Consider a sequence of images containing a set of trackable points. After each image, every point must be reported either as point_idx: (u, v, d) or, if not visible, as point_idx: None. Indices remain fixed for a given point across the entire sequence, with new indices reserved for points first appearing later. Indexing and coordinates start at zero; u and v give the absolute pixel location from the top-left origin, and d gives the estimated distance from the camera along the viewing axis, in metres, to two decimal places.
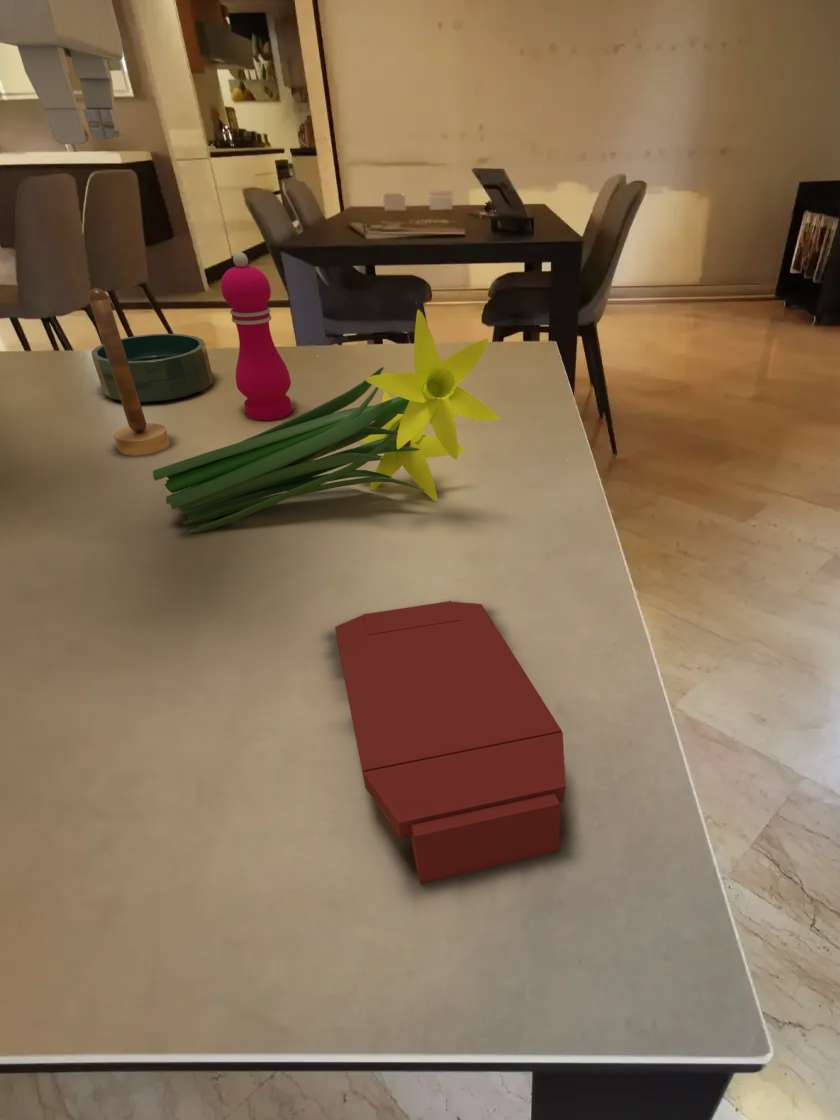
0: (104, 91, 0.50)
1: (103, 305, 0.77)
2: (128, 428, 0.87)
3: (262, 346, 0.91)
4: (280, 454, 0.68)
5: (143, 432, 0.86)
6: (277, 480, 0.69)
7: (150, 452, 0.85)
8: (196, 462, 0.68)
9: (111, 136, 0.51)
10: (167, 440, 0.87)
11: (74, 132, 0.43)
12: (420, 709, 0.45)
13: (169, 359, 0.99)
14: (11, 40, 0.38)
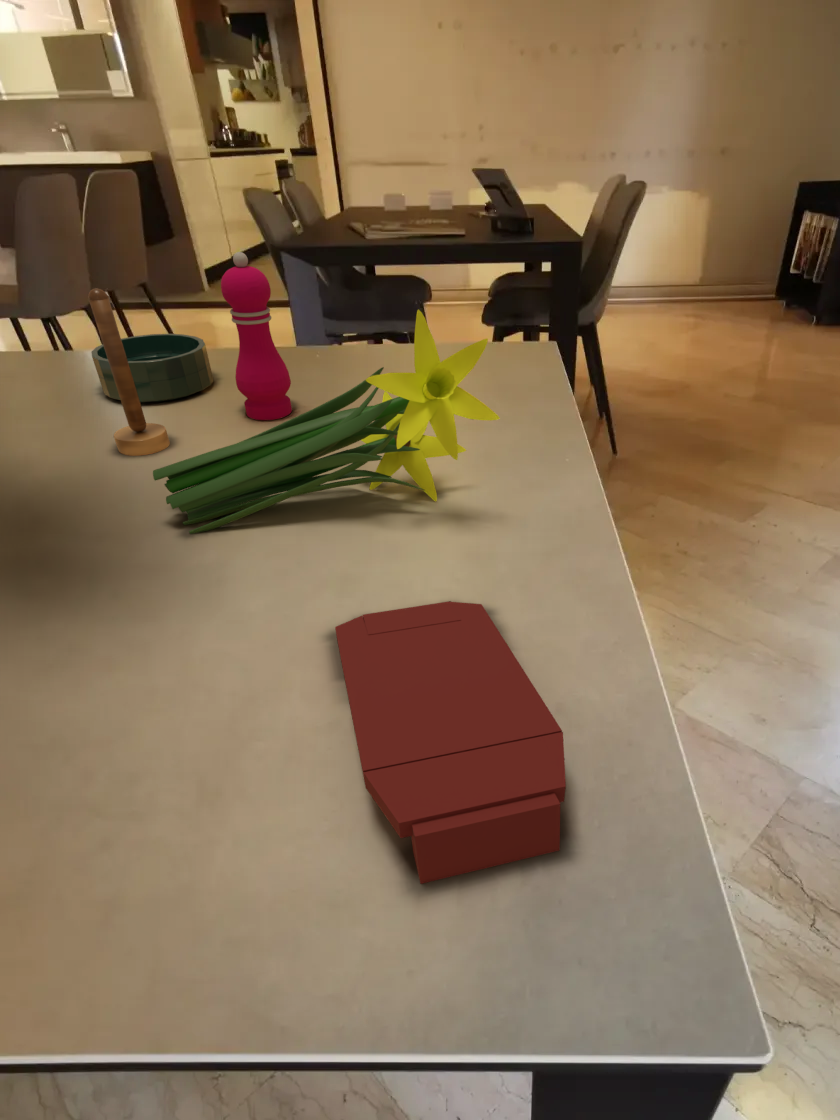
0: None
1: (103, 305, 0.77)
2: (128, 428, 0.87)
3: (261, 346, 0.91)
4: (280, 454, 0.68)
5: (143, 432, 0.86)
6: (277, 480, 0.69)
7: (150, 452, 0.85)
8: (196, 462, 0.68)
9: None
10: (167, 440, 0.87)
11: None
12: (420, 709, 0.45)
13: (169, 359, 0.99)
14: None
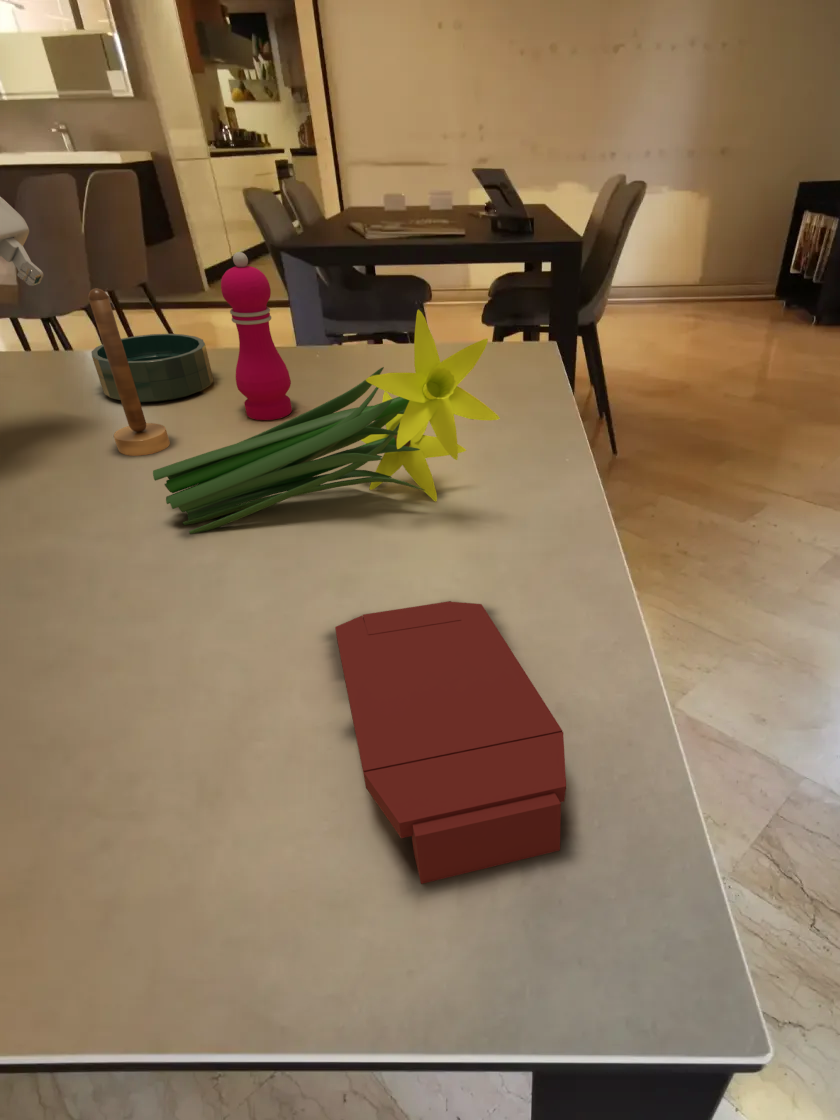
0: None
1: (103, 305, 0.77)
2: (128, 428, 0.87)
3: (261, 346, 0.91)
4: (280, 454, 0.68)
5: (143, 432, 0.86)
6: (277, 480, 0.69)
7: (150, 452, 0.85)
8: (196, 462, 0.68)
9: None
10: (167, 440, 0.87)
11: None
12: (420, 709, 0.45)
13: (169, 359, 0.99)
14: (26, 237, 0.82)
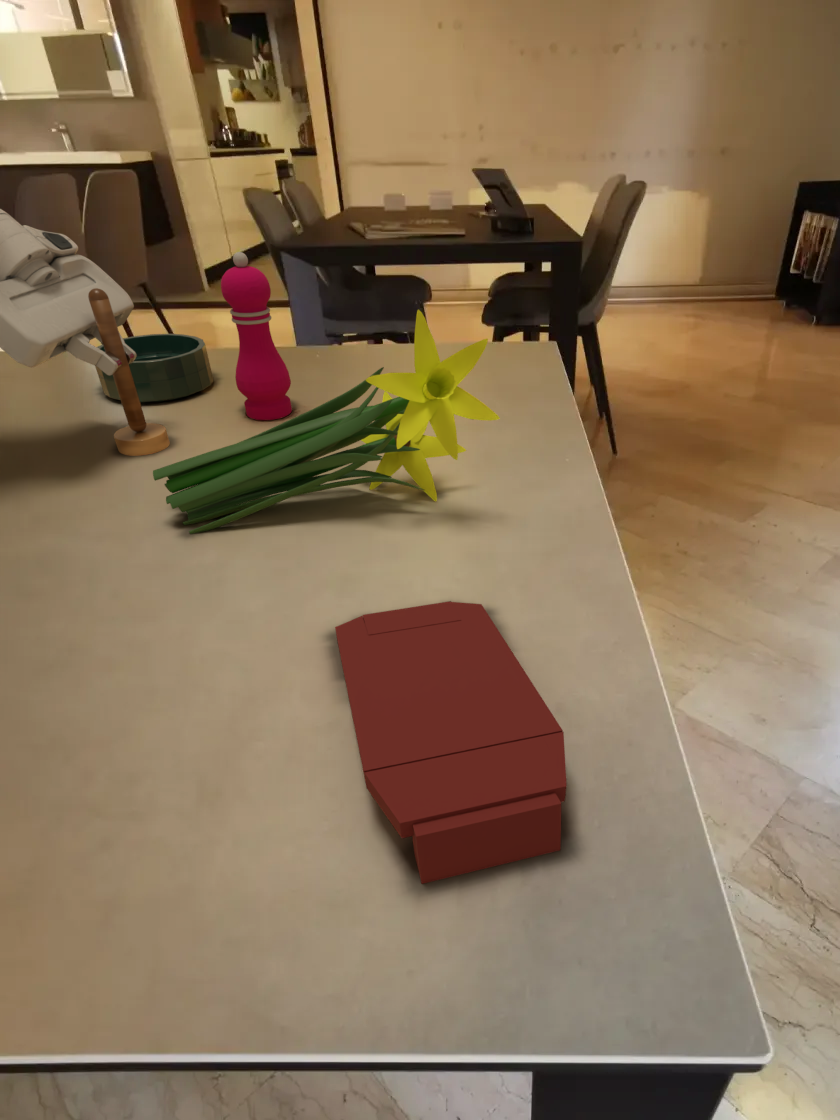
0: None
1: (103, 305, 0.77)
2: (128, 428, 0.87)
3: (261, 346, 0.91)
4: (280, 454, 0.68)
5: (143, 432, 0.86)
6: (277, 480, 0.69)
7: (150, 452, 0.85)
8: (196, 462, 0.68)
9: (116, 370, 0.81)
10: (167, 440, 0.87)
11: None
12: (420, 709, 0.45)
13: (169, 359, 0.99)
14: (130, 312, 0.86)
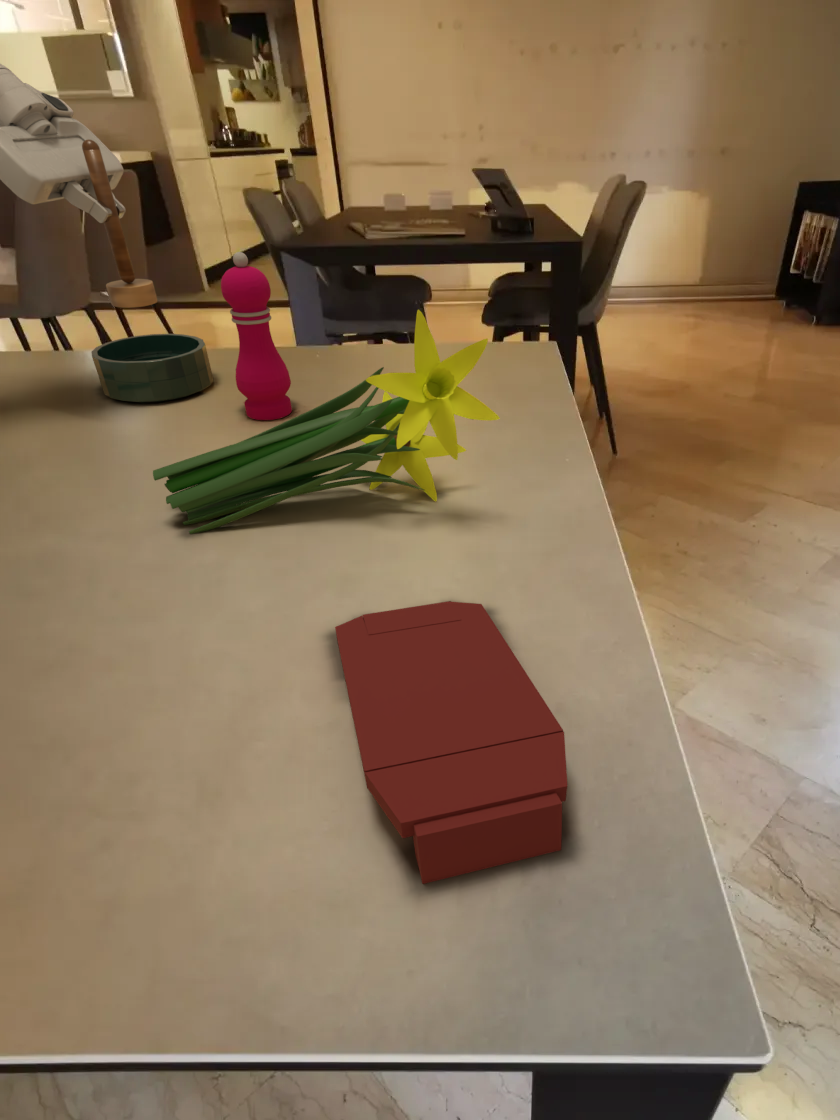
0: None
1: (95, 155, 0.86)
2: (119, 281, 0.97)
3: (261, 346, 0.91)
4: (280, 454, 0.68)
5: (132, 283, 0.96)
6: (277, 480, 0.69)
7: (138, 300, 0.95)
8: (196, 462, 0.68)
9: None
10: (154, 292, 0.97)
11: None
12: (421, 709, 0.45)
13: (169, 359, 0.99)
14: None
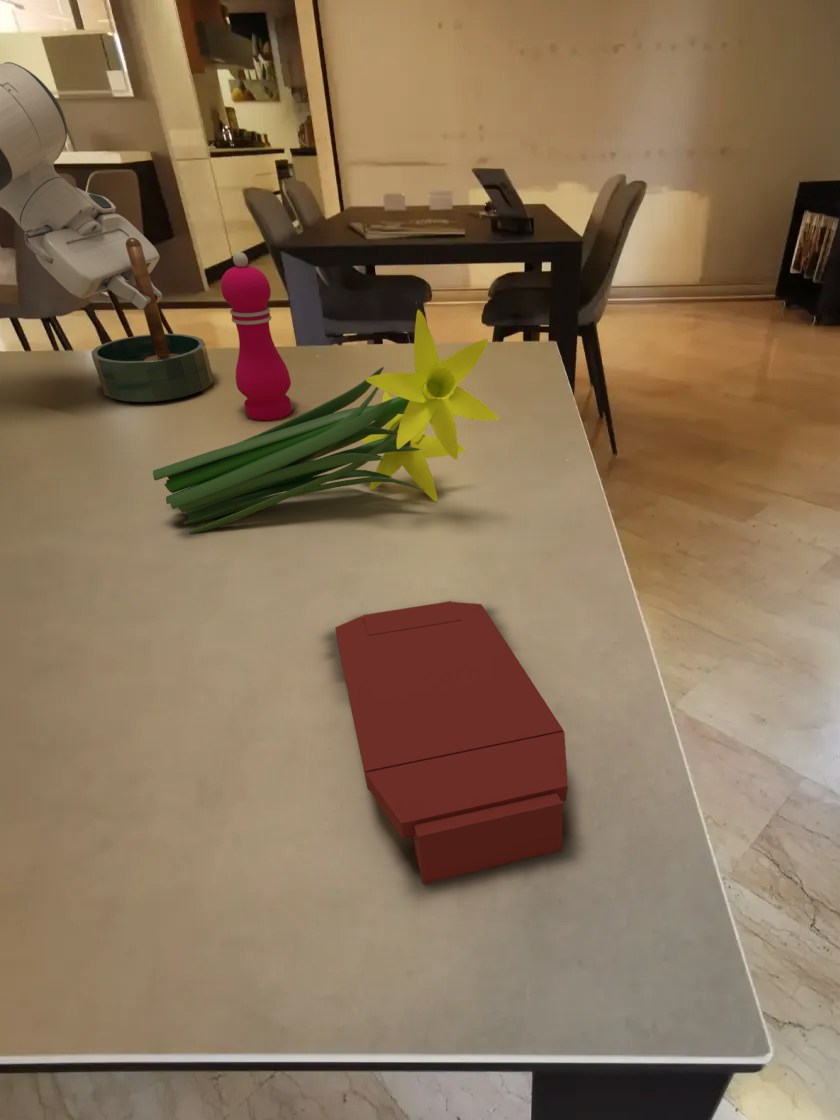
0: None
1: (137, 251, 0.96)
2: (154, 357, 1.06)
3: (261, 346, 0.91)
4: (280, 454, 0.68)
5: None
6: (277, 480, 0.69)
7: None
8: (196, 462, 0.68)
9: None
10: None
11: None
12: (421, 709, 0.45)
13: (169, 359, 0.99)
14: None
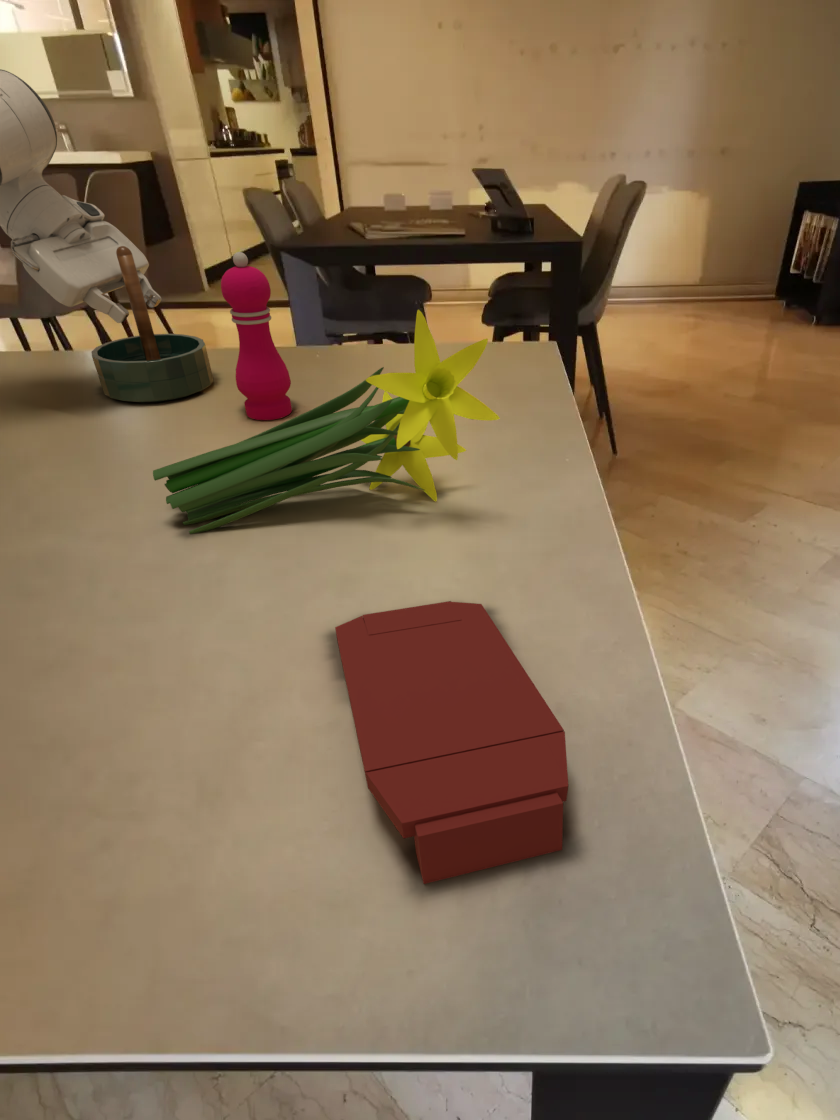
0: None
1: (128, 259, 0.96)
2: None
3: (261, 346, 0.91)
4: (280, 454, 0.68)
5: None
6: (277, 480, 0.69)
7: None
8: (196, 462, 0.68)
9: None
10: None
11: None
12: (421, 709, 0.45)
13: (169, 359, 0.99)
14: None
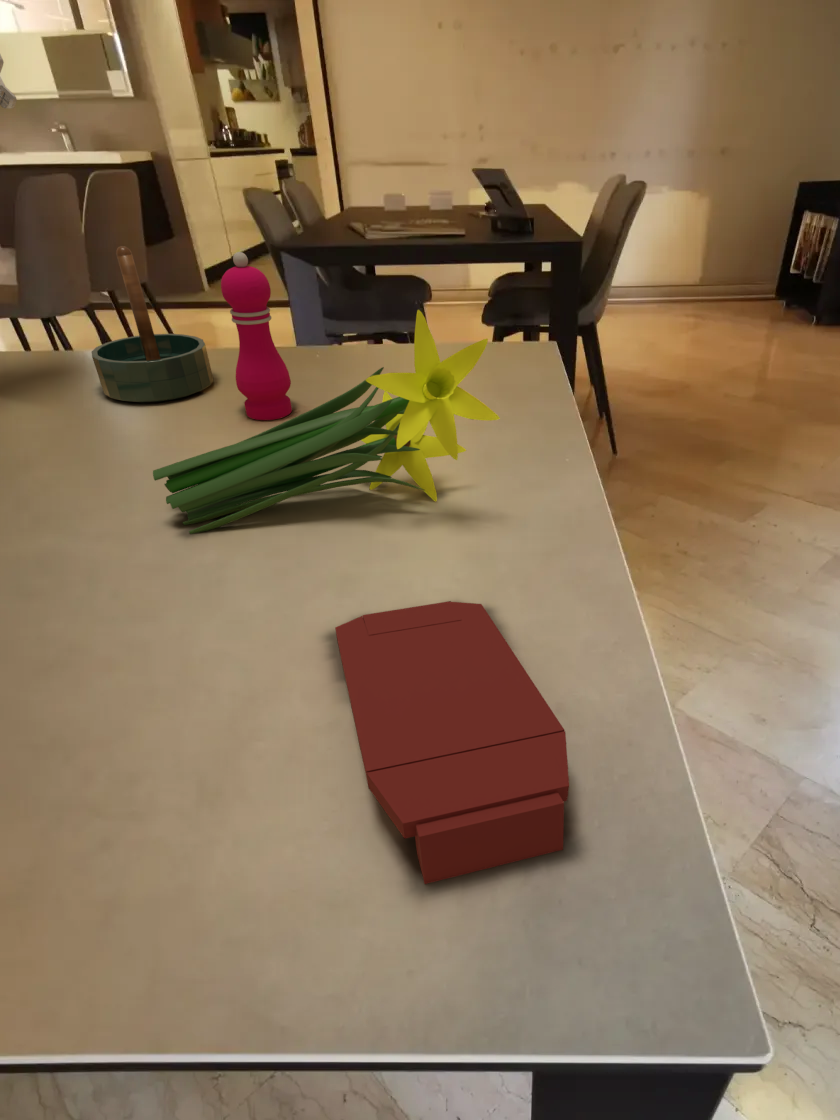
0: None
1: (128, 259, 0.96)
2: None
3: (261, 346, 0.91)
4: (280, 454, 0.68)
5: None
6: (277, 480, 0.69)
7: None
8: (196, 462, 0.68)
9: None
10: None
11: None
12: (422, 709, 0.45)
13: (169, 359, 0.99)
14: (1, 69, 0.92)
